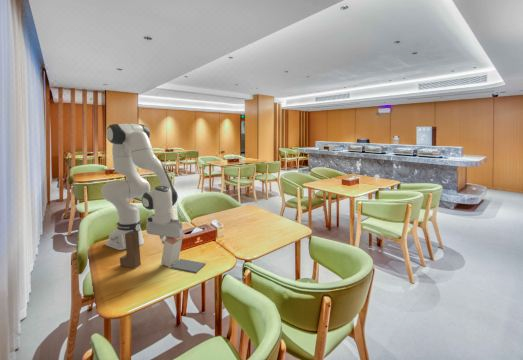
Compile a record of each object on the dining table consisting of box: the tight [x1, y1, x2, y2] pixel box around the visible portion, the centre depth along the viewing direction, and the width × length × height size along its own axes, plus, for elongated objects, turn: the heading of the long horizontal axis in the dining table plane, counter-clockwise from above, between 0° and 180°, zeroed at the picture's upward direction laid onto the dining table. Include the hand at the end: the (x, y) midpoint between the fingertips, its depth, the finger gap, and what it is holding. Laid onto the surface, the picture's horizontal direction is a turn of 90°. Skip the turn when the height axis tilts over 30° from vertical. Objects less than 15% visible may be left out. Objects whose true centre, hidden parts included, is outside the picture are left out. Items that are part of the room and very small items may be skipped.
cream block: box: [160, 236, 184, 268], centre depth 142 cm, size 5×8×14 cm, turn 164°
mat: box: [169, 258, 206, 274], centre depth 140 cm, size 15×9×1 cm, turn 72°
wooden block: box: [119, 231, 142, 269], centre depth 139 cm, size 9×4×18 cm, turn 74°
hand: (165, 243), depth 142 cm, fingers closed
